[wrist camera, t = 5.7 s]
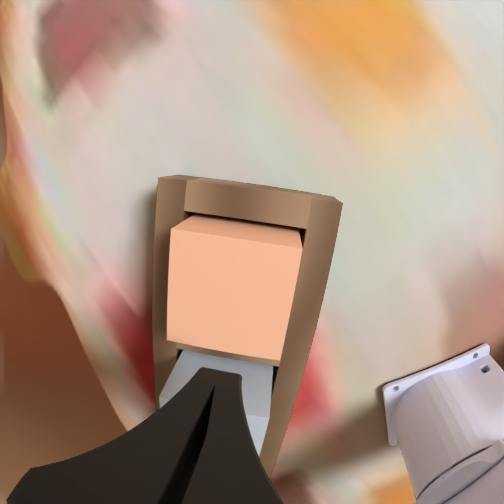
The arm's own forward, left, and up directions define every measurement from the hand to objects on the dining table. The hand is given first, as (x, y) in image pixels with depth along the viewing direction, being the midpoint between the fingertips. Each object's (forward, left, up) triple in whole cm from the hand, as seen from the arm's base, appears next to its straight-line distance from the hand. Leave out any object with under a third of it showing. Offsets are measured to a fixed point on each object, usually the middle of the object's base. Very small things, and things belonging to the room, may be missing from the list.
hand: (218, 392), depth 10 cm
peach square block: (0, -2, -9) cm, 9 cm away
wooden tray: (+3, +6, -10) cm, 12 cm away
